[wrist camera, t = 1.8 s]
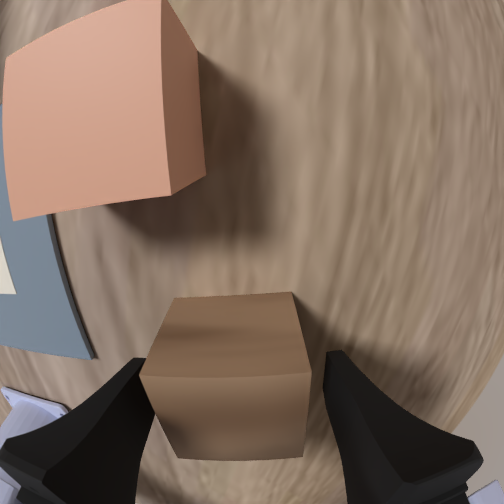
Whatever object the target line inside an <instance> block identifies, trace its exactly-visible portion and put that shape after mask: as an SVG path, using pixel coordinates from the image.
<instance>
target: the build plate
mask: <svg viewBox="0 0 504 504" xmlns="http://www.w3.org/2000/svg"><path fill="white" fill-rule="evenodd" d="M2 106H3V104H1V105H0V345H4V346H8V347H13V348H18V349H23V350H28V351H33V352H39V353H45V354H51V355H57V356H64V357H71V358H79V359H87V360H92V359H93V357H94V354H93V351H92V349H91V346H90V344H89V342H88V339H87V336H86V334H85V331H84V329H83V326H82V323H81V321H80V318H79V315H78V312H77V309H76V307H75V304H74V301H73V298H72V294H71V291H70V288H69V285H68V282H67V278H66V275H65V271H64V268H63V264H62V260H61V256H60V252H59V248H58V244H57V240H56V235H55V231H54V226H53V221H52V216H51V214H46V215H41V216H36V217H32V218H27V219H22V220H18V221H13V218H12V213H11V208H10V202H9V195H8V189H7V181H6V173H5V163H4V150H3V128H2Z"/></svg>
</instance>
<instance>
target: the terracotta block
mask: <svg viewBox="0 0 504 504" xmlns="http://www.w3.org/2000/svg"><path fill="white" fill-rule="evenodd" d="M2 128H3V150H4V163H5V173H6V181H7V189H8V195H9V202H10V208H11V213H12V218H13V221H18V220H22V219H27V218H32V217H36V216H41V215H46V214H52V213H57V212H62V211H68V210H73V209H79V208H85V207H91V206H97V205H103V204H110V203H117V202H123V201H131V200H138V199H145V198H153V197H161V196H170V195H173V194H174V193H176V192H178V191H179V190H181V189H183V188H185V187H186V186H188V185H190V184H191V183H193V182H195V181H197V180H198V179H200V178H202V177H204V176H205V175H206V166H205V155H204V143H203V131H202V118H201V103H200V88H199V71H198V51H197V49H196V47H195V45H194V44H193V42H192V40H191V39H190V37H189V35H188V34H187V32H186V30H185V28H184V27H183V25H182V23H181V22H180V20H179V18H178V17H177V15H176V14H175V12H174V10H173V9H172V7H171V5H170V4H169V2H168V1H167V0H127V1H123V2H120V3H117V4H114V5H111V6H109V7H106V8H103V9H100V10H98V11H95V12H93V13H90V14H88V15H85V16H83V17H81V18H78V19H76V20H74V21H72V22H69V23H67V24H65V25H63V26H61V27H59V28H57V29H55V30H53V31H51V32H49V33H47V34H45V35H43V36H41V37H40V38H38V39H36V40H34V41H32V42H31V43H29V44H27V45H26V46H24V47H22V48H21V49H19V50H17V51H16V52H14V53H13V54H11V55H10V56H8V57H7V58H6V63H5V72H4V84H3V106H2Z"/></svg>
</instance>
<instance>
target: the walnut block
mask: <svg viewBox="0 0 504 504" xmlns="http://www.w3.org/2000/svg"><path fill="white" fill-rule="evenodd" d="M311 374H312V371H311V367H310V363H309V359H308V355H307V351H306V347H305V343H304V339H303V335H302V331H301V327H300V323H299V319H298V315H297V311H296V307H295V304H294V300H293V296H292V292H281V293H266V294H250V295H232V296H212V297H188V298H174V300H173V302H172V304H171V306H170V308H169V310H168V312H167V315H166V317H165V319H164V321H163V323H162V325H161V327H160V330H159V332H158V334H157V336H156V338H155V340H154V343H153V345H152V347H151V349H150V351H149V354H148V356H147V358H146V360H145V363H144V365H143V367H142V370H141V372H140V374H139V376H140V379H141V381H142V384H143V386H144V389H145V391H146V393H147V396H148V398H149V400H150V403H151V405H152V407H153V409H154V411H155V414H156V416H157V418H158V420H159V422H160V424H161V426H162V428H163V430H164V432H165V434H166V436H167V438H168V440H169V442H170V444H171V446H172V448H173V450H174V452H175V454H176V456H177V457H178V458H183V459H196V460H219V461H249V460H272V459H286V458H296V457H303V451H304V444H305V435H306V427H307V418H308V408H309V397H310V386H311Z"/></svg>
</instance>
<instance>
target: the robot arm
mask: <svg viewBox="0 0 504 504" xmlns="http://www.w3.org/2000/svg"><path fill="white" fill-rule="evenodd" d="M145 360H146V358H133V359H132V360H130V361H129V362H128V363H127V364H126V365H125V366H124V367H123V368H122V369H121V370H120V371H119V372H117V373H116V374H115V375H114V376H113V377H112V378H111V379H110V380H109V381H108V382H107V383H106V384H104V385H103V386H102V387H101V388H100V389H99V390H98V391H96V392H95V393H94V394H93V395H92V396H90V397H89V398H88V399H87V400H85V401H84V402H83V403H82V404H80V405H79V406H77V407H76V408H74V409H73V410H71V411H70V412H68V411H67V409H66V408H65V407H64V406H63V405H61V404H58V403H54V402H51V401H47V400H43V399H40V398H37V397H33V396H30V395H27V394H24V393H21V392H18V391H15V390H12V389H9V388H6V387H2V388H1V391H2V393H3V395H4V396H5V398H6V399H7V401H8V402H9V403H10V405H11V406H12V408H13V409H12V410H11V412H10V413H9V415H8V416H7V418H6V419H5V421H4V422H3V424H2V425H1V427H0V504H135V497H136V488H137V479H138V473H139V467H140V461H141V457H142V453H143V450H144V447H145V444H146V441H147V438H148V435H149V432H150V428H151V425H152V422H153V419H154V416H155V411H154V409H153V407H152V405H151V403H150V400H149V398H148V396H147V393H146V391H145V389H144V386H143V384H142V381H141V379H140V376H139V374H140V372H141V370H142V367H143V365H144V363H145ZM323 392H324V398H325V404H326V409H327V412H328V416H329V419H330V422H331V425H332V429H333V432H334V435H335V438H336V442H337V445H338V448H339V452H340V456H341V460H342V466H343V472H344V478H345V486H346V493H347V502H348V504H504V493H503V490H502V488H501V486H500V484H499V482H498V480H494V481H493V482H491V483H489V484H488V485H486V486H484V487H483V488H481V489H479V490H477V491H476V492H474V493H473V494H471V495H470V496H468V497H467V496H466V493H465V492H466V491H467V490H468V486H467V484H466V481H467V480H468V479H469V478H470V477H471V476H472V475H473V474H474V473H475V472H476V471H477V470H478V469H479V468H480V467H481V465H482V463H483V457H482V456H481V454H480V451H479V450H478V448H477V446H476V445H475V443H474V442H473V441H472V440H468V439H465V438H462V437H459V436H456V435H453V434H450V433H448V432H445V431H443V430H441V429H438V428H436V427H434V426H432V425H430V424H428V423H426V422H425V421H423V420H421V419H419V418H417V417H416V416H414V415H412V414H411V413H409V412H408V411H406V410H405V409H403V408H402V407H400V406H399V405H398V404H396V403H395V402H394V401H393V400H391V399H390V398H389V397H388V396H387V395H385V394H384V393H383V392H382V391H381V390H380V389H379V388H377V387H376V386H375V385H374V384H373V383H372V382H371V381H370V380H369V379H368V378H367V377H366V376H365V375H364V374H363V373H362V372H361V371H360V370H359V368H358V367H357V366H356V365H355V364H354V363H353V362H352V361H351V360H350V359H349V357H348V356H347V355H346V354H345V353H344V352H343V351H342V350H338V351H330V352H327V353H326V362H325V372H324V380H323Z"/></svg>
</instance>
